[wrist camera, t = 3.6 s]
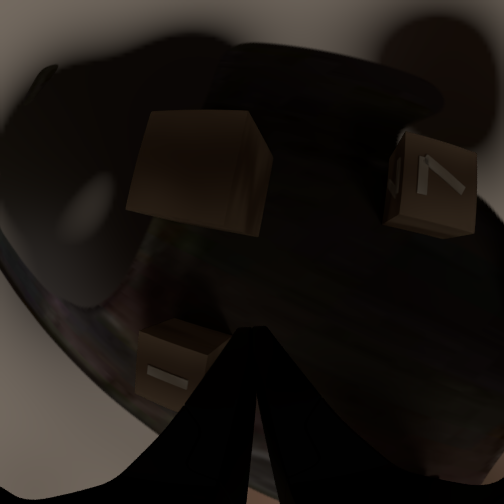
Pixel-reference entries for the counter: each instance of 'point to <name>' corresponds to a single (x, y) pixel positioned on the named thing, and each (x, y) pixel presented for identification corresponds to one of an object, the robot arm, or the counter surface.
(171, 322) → the walnut cube
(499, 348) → the counter surface
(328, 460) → the robot arm
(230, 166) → the plain walnut block
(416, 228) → the walnut cube
